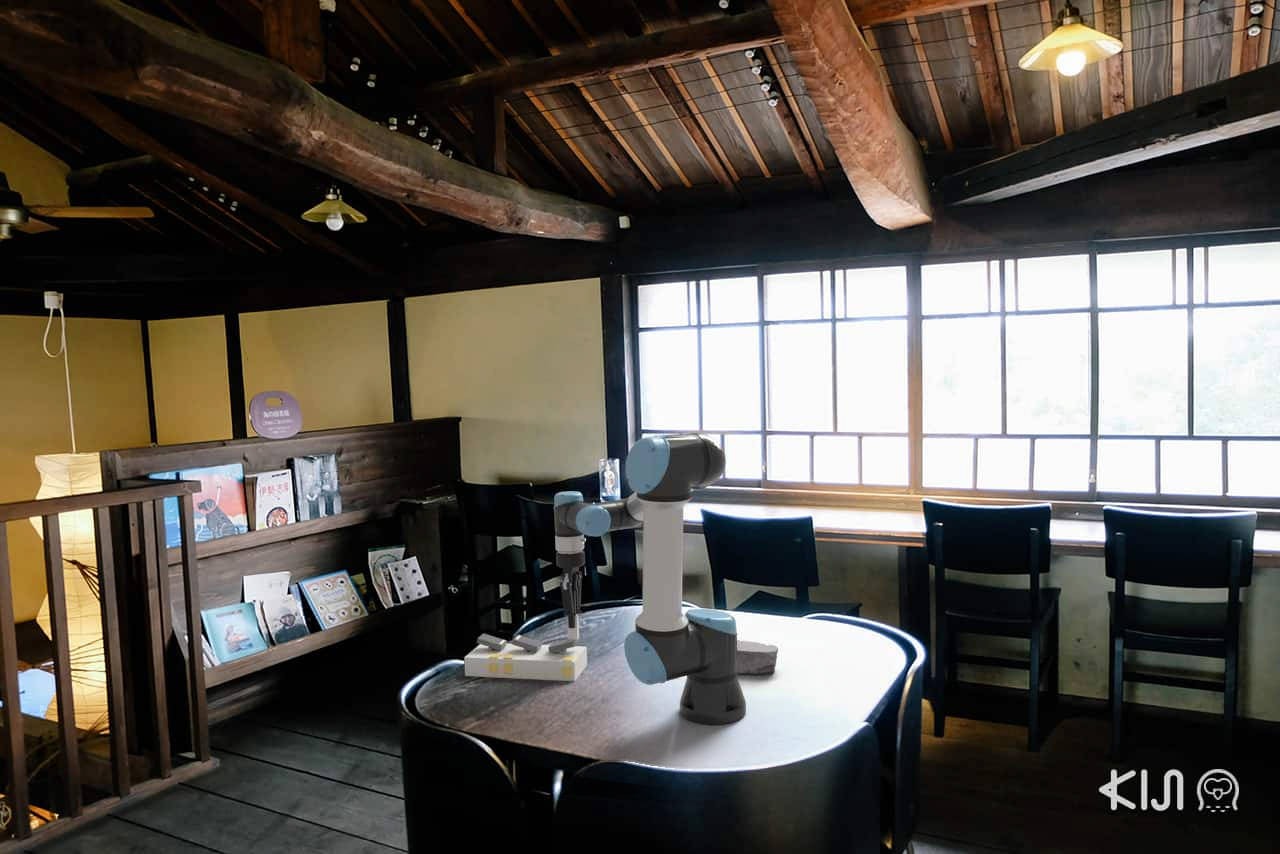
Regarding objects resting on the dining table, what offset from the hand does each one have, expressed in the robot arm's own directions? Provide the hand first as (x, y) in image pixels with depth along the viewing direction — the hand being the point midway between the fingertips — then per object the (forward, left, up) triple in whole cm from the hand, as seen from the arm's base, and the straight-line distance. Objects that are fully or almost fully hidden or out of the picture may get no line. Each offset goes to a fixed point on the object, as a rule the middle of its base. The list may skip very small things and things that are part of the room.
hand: (573, 638), depth 215 cm
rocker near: (0, +3, -2) cm, 3 cm away
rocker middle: (0, +13, -2) cm, 13 cm away
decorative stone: (+6, -46, -9) cm, 47 cm away
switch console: (-1, +13, -9) cm, 16 cm away
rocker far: (0, +23, -2) cm, 23 cm away
